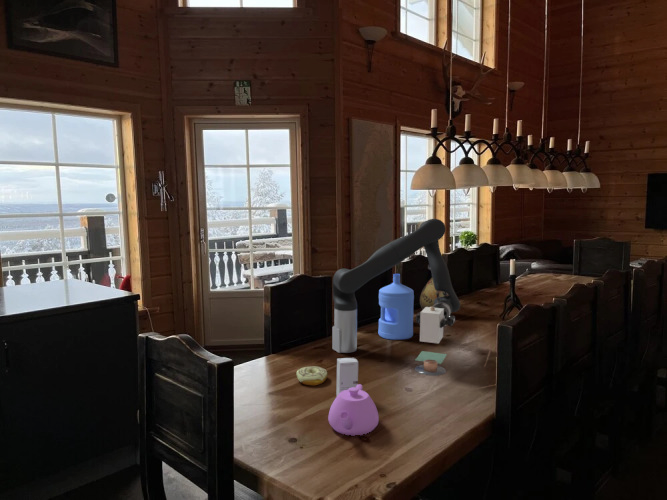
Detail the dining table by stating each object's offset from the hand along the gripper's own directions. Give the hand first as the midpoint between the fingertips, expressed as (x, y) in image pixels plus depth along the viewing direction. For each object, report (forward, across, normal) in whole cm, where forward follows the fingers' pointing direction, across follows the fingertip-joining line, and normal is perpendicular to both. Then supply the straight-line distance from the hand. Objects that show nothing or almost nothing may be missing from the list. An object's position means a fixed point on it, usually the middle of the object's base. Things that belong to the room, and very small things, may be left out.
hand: (430, 323), depth 173 cm
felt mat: (-15, -2, +18) cm, 24 cm away
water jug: (-40, -24, +18) cm, 50 cm away
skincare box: (+32, -19, +18) cm, 41 cm away
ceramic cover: (-2, 0, +6) cm, 7 cm away
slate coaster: (-1, 0, +18) cm, 18 cm away
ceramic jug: (-85, -14, +18) cm, 88 cm away
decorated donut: (+23, -36, +18) cm, 46 cm away
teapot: (+50, -11, +18) cm, 54 cm away
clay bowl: (-1, 0, +17) cm, 17 cm away
